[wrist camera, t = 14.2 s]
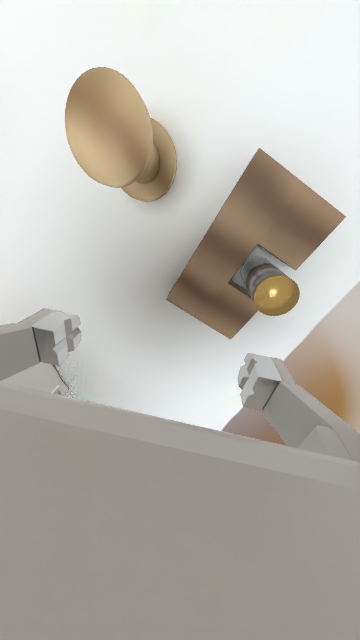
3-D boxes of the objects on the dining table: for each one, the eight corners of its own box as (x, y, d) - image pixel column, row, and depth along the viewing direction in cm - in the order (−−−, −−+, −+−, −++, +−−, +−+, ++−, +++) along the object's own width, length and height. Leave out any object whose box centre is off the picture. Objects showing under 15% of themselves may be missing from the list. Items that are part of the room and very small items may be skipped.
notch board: (229, 329, 33) (230, 339, 31) (169, 292, 32) (165, 299, 29) (331, 216, 24) (346, 216, 21) (253, 156, 22) (259, 147, 20)
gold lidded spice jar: (252, 289, 29) (270, 323, 20) (235, 270, 28) (246, 296, 19) (275, 271, 28) (308, 298, 18) (258, 250, 27) (283, 267, 17)
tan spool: (158, 213, 26) (131, 211, 18) (105, 178, 25) (50, 157, 17) (188, 147, 23) (174, 103, 14) (129, 102, 22) (73, 25, 13)
